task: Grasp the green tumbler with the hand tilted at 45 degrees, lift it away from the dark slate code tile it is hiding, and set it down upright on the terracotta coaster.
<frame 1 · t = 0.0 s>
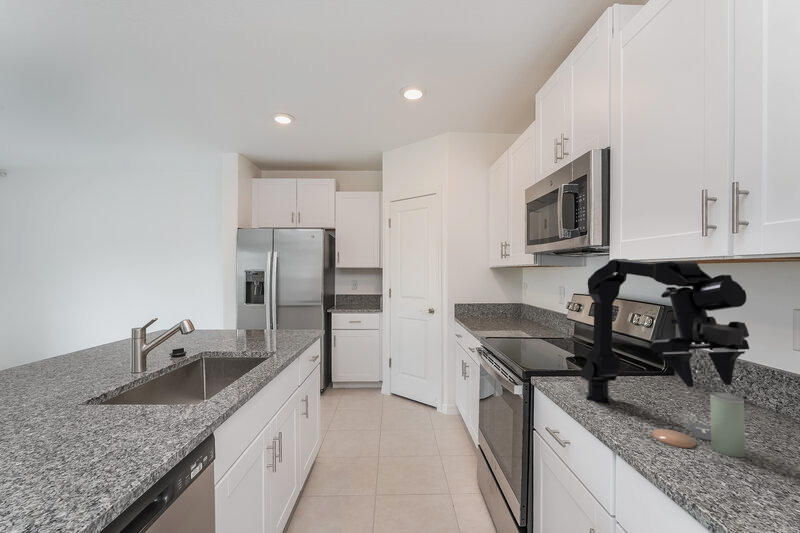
hand: (709, 385, 73), 15 cm above the worktop, tool pointing down, fingers open, 9 cm apart
code tile: (713, 434, 83), on the worktop
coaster: (673, 439, 80), on the worktop
green tumbler: (728, 450, 75), on the worktop
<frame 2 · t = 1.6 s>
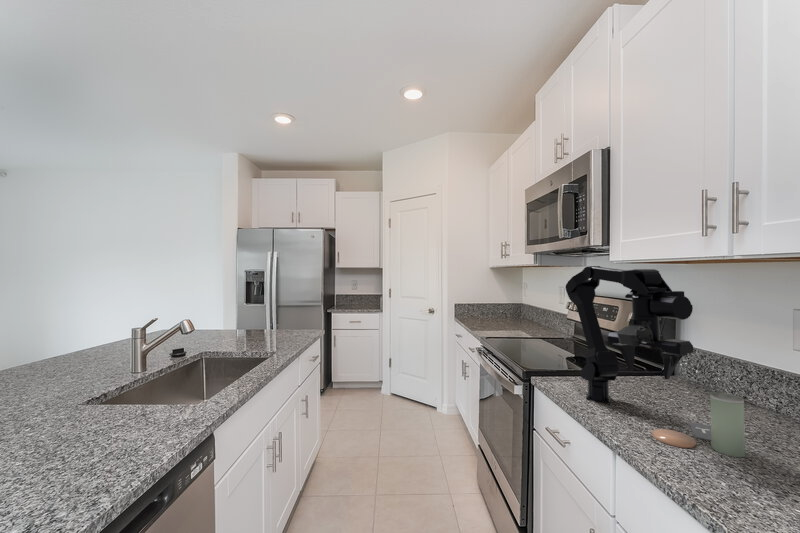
hand: (648, 374, 90), 13 cm above the worktop, tool pointing down, fingers open, 9 cm apart
nothing on the worktop moved.
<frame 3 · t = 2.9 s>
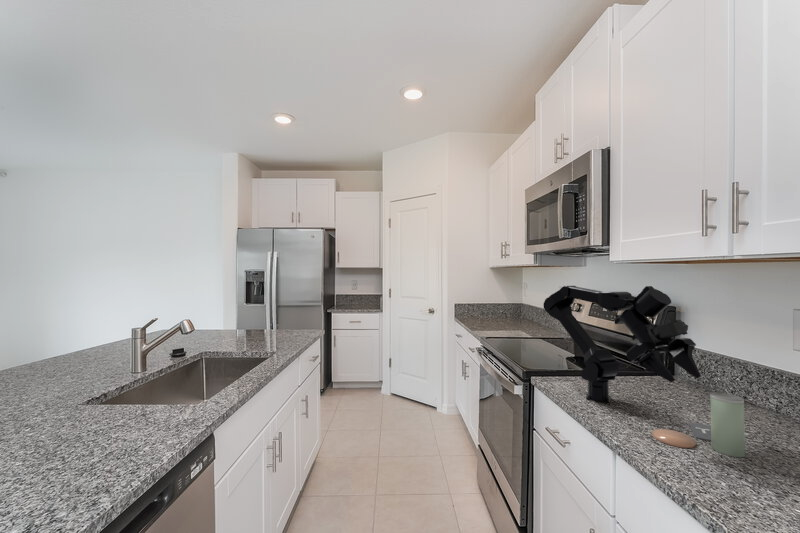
hand: (686, 379, 83), 13 cm above the worktop, tool tilted 45°, fingers open, 9 cm apart
nothing on the worktop moved.
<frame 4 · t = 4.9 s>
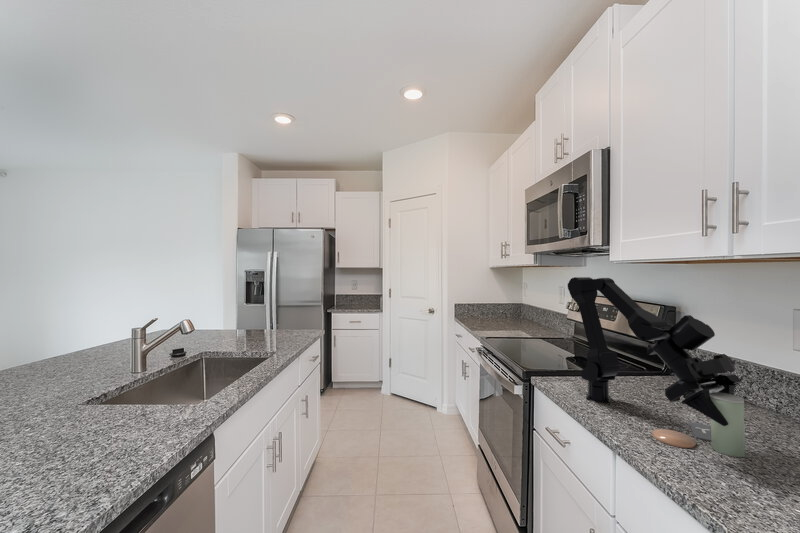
hand: (735, 423, 74), 7 cm above the worktop, tool tilted 45°, fingers closed on green tumbler, 5 cm apart
green tumbler: (728, 450, 75), on the worktop, touching gripper
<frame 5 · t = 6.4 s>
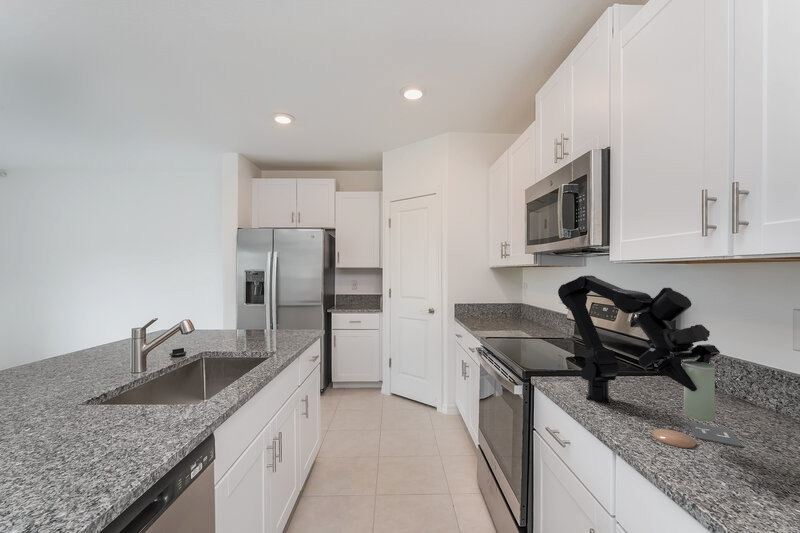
hand: (705, 389, 77), 13 cm above the worktop, tool tilted 45°, fingers closed on green tumbler, 5 cm apart
green tumbler: (699, 416, 78), point 7 cm above the worktop, touching gripper
when the fingers open (8 cm above the worktop, at t = 8.2 s): green tumbler stays where it is, resting on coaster.
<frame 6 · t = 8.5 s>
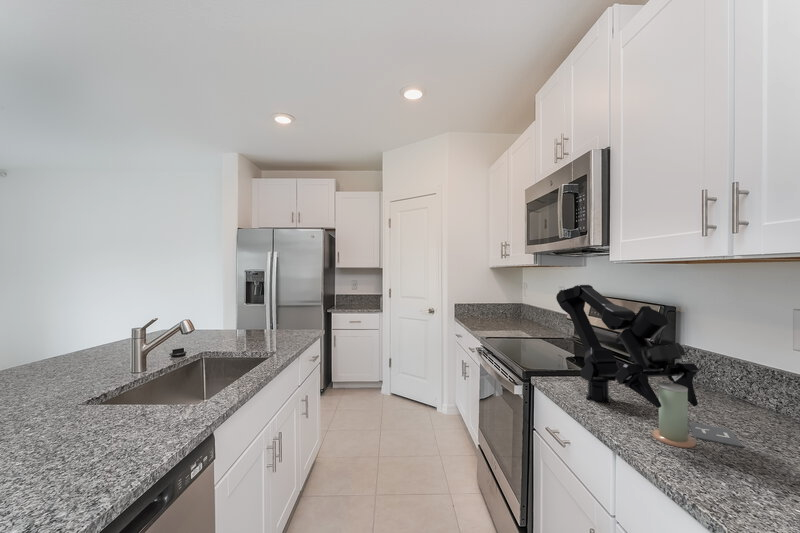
hand: (678, 406, 79), 8 cm above the worktop, tool tilted 45°, fingers open, 9 cm apart
green tumbler: (673, 436, 81), point 1 cm above the worktop, touching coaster
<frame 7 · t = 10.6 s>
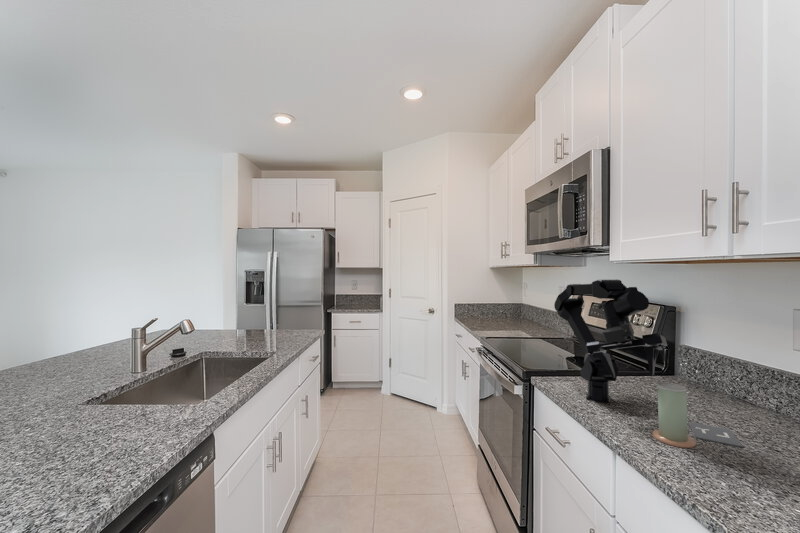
hand: (632, 376, 92), 12 cm above the worktop, tool tilted 20°, fingers open, 9 cm apart
nothing on the worktop moved.
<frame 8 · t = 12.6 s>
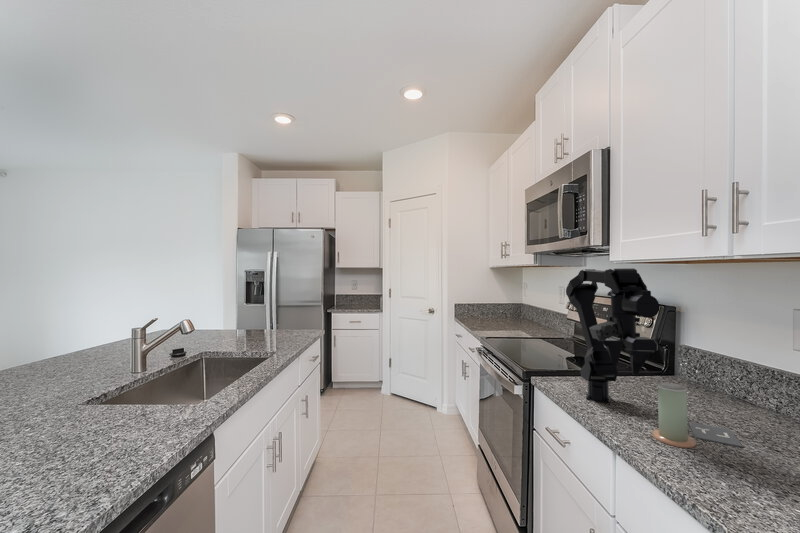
hand: (624, 369, 93), 13 cm above the worktop, tool pointing down, fingers open, 9 cm apart
nothing on the worktop moved.
at the end: green tumbler 0.1 cm from the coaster (horizontally); green tumbler tilted 0°; the gripper is holding nothing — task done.
